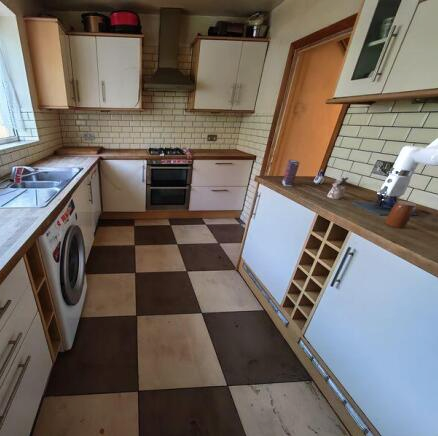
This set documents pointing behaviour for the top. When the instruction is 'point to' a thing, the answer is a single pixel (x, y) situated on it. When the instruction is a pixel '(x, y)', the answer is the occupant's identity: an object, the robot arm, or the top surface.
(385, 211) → the mat
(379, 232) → the top surface
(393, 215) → the jar
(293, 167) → the supplement box
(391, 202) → the lid
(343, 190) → the figurine
